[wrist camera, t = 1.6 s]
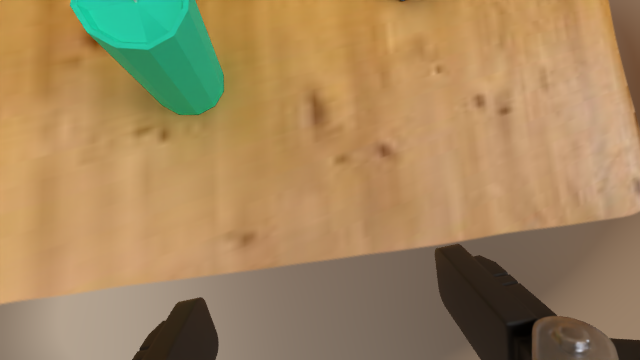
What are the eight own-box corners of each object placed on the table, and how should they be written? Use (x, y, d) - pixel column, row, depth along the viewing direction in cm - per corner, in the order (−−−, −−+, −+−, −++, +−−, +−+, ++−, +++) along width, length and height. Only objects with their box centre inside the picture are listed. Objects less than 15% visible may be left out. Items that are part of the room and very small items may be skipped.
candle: (232, 61, 27) (196, -62, 15) (214, 123, 26) (162, 45, 14) (164, 42, 26) (71, -101, 14) (143, 105, 25) (26, 8, 14)
